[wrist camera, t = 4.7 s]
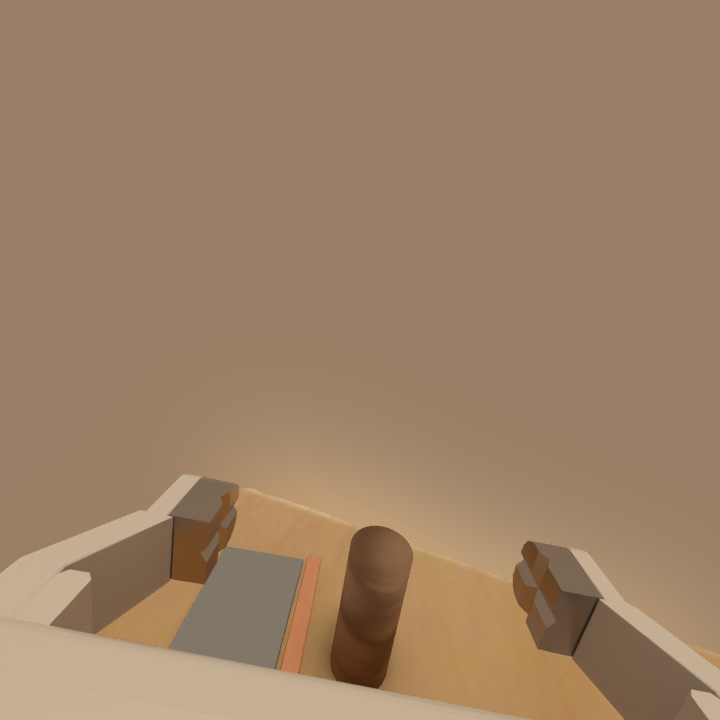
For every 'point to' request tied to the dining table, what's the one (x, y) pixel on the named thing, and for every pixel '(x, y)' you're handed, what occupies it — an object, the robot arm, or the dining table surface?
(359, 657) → the brown tall cylinder
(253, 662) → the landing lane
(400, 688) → the dining table surface
